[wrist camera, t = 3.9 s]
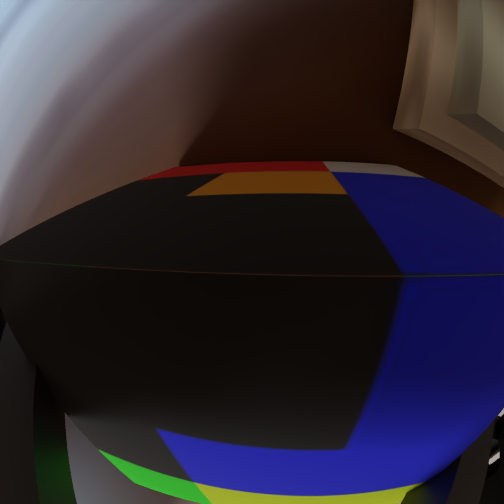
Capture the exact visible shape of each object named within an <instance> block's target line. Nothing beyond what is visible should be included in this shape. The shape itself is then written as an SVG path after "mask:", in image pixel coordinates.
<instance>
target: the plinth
mask: <svg viewBox="0 0 504 504" xmlns="http://www.w3.org/2000/svg"><path fill="white" fill-rule="evenodd" d="M393 129H394V130H396V131H398V132H401V133H403V134H406V135H408V136H410V137H412V138H415V139H417V140H419V141H421V142H423V143H425V144H428V145H430V146H432V147H434V148H436V149H438V150H440V151H442V152H444V153H446V154H448V155H449V156H451V157H453V158H455V159H457V160H459V161H461V162H462V163H464V164H466V165H468V166H469V167H471V168H473V169H474V170H476V171H478V172H479V173H481V174H483V175H484V176H486V177H488V178H489V179H491V180H492V181H494V182H495V183H497V184H498V185H500V186H501V187H503V188H504V0H414V3H413V14H412V24H411V33H410V41H409V48H408V54H407V61H406V67H405V72H404V78H403V83H402V88H401V93H400V98H399V103H398V107H397V112H396V116H395V120H394V124H393Z"/></svg>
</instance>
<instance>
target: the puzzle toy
mask: <svg viewBox="0 0 504 504" xmlns="http://www.w3.org/2000/svg"><path fill="white" fill-rule="evenodd" d="M0 308H1V310H2V312H3V315H4V317H5V319H6V321H7V323H8V325H9V327H10V329H11V331H12V333H13V334H14V336H15V338H16V340H17V342H18V344H19V345H20V347H21V349H22V351H23V352H24V354H25V355H26V356H27V357H28V358H30V359H31V360H32V361H34V362H35V363H36V364H37V365H38V367H39V369H40V372H41V374H42V376H43V378H44V380H45V382H46V383H47V385H48V387H49V389H50V391H51V393H52V395H53V396H54V398H55V400H56V401H57V403H58V404H59V405H60V407H61V408H62V409H63V410H64V412H65V413H66V414H67V415H68V417H69V418H70V419H71V420H72V421H73V422H74V424H75V425H76V426H77V427H78V428H79V429H80V430H81V432H82V433H83V434H84V435H85V436H86V437H87V438H88V439H89V440H90V441H91V442H92V444H93V445H94V446H95V447H96V448H97V449H98V450H99V451H100V452H101V453H103V455H104V456H105V457H106V458H107V459H109V460H110V461H111V462H112V463H113V464H114V465H115V466H116V467H117V468H118V469H119V470H120V471H122V472H123V473H124V474H125V475H126V476H127V477H129V478H130V479H131V480H132V481H133V482H134V483H137V484H139V485H142V486H145V487H147V488H150V489H153V490H156V491H159V492H162V493H165V494H168V495H172V496H175V497H179V498H182V499H186V500H190V501H194V502H198V503H202V504H398V503H400V502H402V500H403V498H404V496H405V494H406V493H407V492H408V491H410V490H412V489H414V488H415V487H417V486H419V485H421V484H422V483H424V482H426V481H428V480H429V479H431V478H432V477H434V476H436V475H437V474H439V473H440V472H442V471H443V470H444V469H445V468H447V467H448V466H449V465H450V464H451V463H452V462H453V461H454V460H456V459H457V458H458V457H459V456H460V455H461V454H462V453H463V452H464V451H465V450H466V449H467V448H468V447H469V446H470V445H471V444H472V443H473V442H474V441H475V440H476V439H477V438H478V437H479V436H480V435H481V434H482V433H483V432H484V431H485V430H486V428H487V427H488V426H489V425H490V424H491V423H492V422H493V420H494V419H495V418H496V417H497V416H498V415H499V413H500V412H501V411H502V410H503V408H504V218H503V217H501V216H499V215H498V214H496V213H494V212H493V211H491V210H489V209H487V208H485V207H484V206H482V205H480V204H478V203H476V202H474V201H473V200H471V199H469V198H467V197H465V196H463V195H461V194H459V193H457V192H455V191H453V190H451V189H449V188H447V187H445V186H442V185H440V184H438V183H436V182H434V181H431V180H429V179H427V178H425V177H422V176H420V175H418V174H415V173H413V172H411V171H408V170H406V169H403V168H401V167H398V166H396V165H386V164H373V163H355V162H329V161H266V162H240V163H222V164H207V165H195V166H184V167H174V168H171V169H168V170H166V171H163V172H160V173H157V174H154V175H151V176H148V177H146V178H143V179H140V180H138V181H135V182H132V183H130V184H127V185H125V186H122V187H120V188H117V189H115V190H112V191H110V192H107V193H105V194H102V195H100V196H98V197H95V198H93V199H91V200H89V201H86V202H84V203H82V204H80V205H77V206H75V207H73V208H71V209H69V210H67V211H65V212H62V213H60V214H58V215H56V216H54V217H52V218H50V219H48V220H46V221H44V222H42V223H40V224H38V225H37V226H35V227H33V228H31V229H29V230H27V231H25V232H23V233H22V234H20V235H18V236H16V237H15V238H13V239H11V240H9V241H8V242H6V243H4V244H2V245H1V246H0Z"/></svg>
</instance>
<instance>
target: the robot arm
mask: <svg viewBox="0 0 504 504" xmlns="http://www.w3.org/2000/svg"><path fill="white" fill-rule="evenodd" d="M499 451H500V458H499V459H497V460H496V461H495V462H493V463H492V464H490V465H489V463H488V462H489V459H490V458H492V457H493V456H494V455H495V454H497V453H498V452H499ZM0 504H77V503H76V498H75V493H74V489H73V484H72V478H71V472H70V465H69V458H68V450H67V441H66V429H65V412H64V410H63V409H62V408H61V407H60V405H59V404H58V403H57V401H56V400H55V398H54V396H53V395H52V393H51V391H50V389H49V387H48V385H47V383H46V382H45V380H44V378H43V376H42V374H41V372H40V369H39V367H38V365H37V364H36V363H35V362H34V361H32V360H31V359H30V358H28V357H27V356H26V355H25V354H24V352H23V351H22V349H21V347H20V345H19V344H18V342H17V340H16V338H15V336H14V334H13V333H12V331H11V329H10V327H9V325H8V323H7V321H6V319H5V317H4V315H3V312H2V310H1V308H0ZM401 504H504V414H503V415H502V416H501V417H500V416H497V417H496V418H495V419H494V420H493V422H492V423H491V424H490V425H489V426H488V427H487V428H486V430H485V431H484V432H483V433H482V434H481V435H480V436H479V437H478V438H477V439H476V440H475V441H474V442H473V443H472V444H471V445H470V446H469V447H468V448H467V449H466V450H465V451H464V452H463V453H462V454H461V455H460V456H459V457H458V458H457V459H456V460H454V461H453V462H452V463H451V464H450V465H449V466H448V467H447V468H445V469H444V470H443V471H442V472H440V473H439V474H437V475H436V476H434V477H432V478H431V479H429V480H428V481H426V482H424V483H422V484H421V485H419V486H417V487H415V488H414V489H412V490H410V491H408V492H407V493H406V494H405V496H404V498H403V500H402V502H401Z"/></svg>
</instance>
